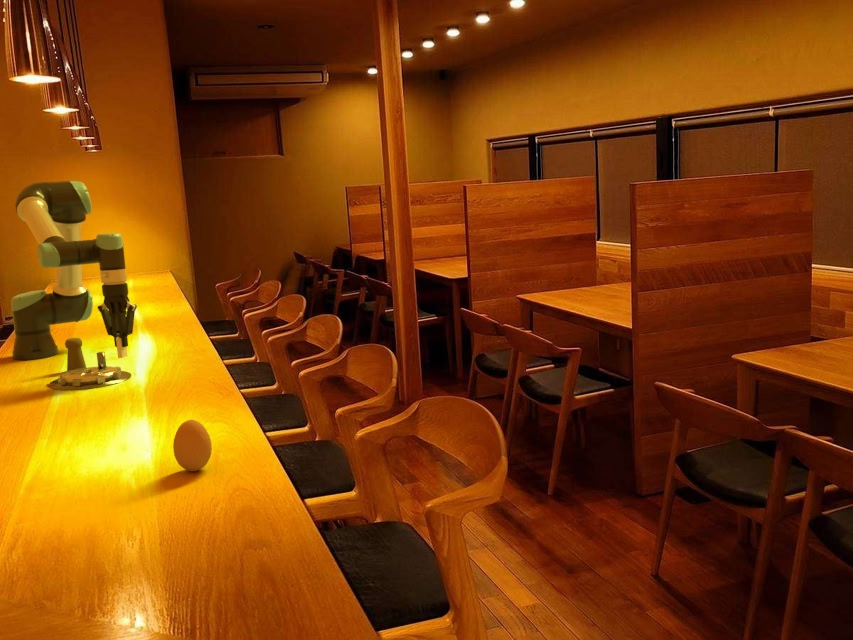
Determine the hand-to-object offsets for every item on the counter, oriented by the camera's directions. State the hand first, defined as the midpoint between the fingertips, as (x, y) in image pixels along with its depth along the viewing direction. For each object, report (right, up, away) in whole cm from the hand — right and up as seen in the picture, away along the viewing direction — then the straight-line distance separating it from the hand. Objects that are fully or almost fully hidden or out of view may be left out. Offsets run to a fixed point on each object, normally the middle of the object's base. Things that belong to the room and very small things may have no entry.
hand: (122, 357), depth 252 cm
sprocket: (-9, -7, -2) cm, 12 cm away
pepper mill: (-20, -5, +12) cm, 24 cm away
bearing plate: (-9, -7, -2) cm, 12 cm away
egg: (+48, -20, -87) cm, 101 cm away
